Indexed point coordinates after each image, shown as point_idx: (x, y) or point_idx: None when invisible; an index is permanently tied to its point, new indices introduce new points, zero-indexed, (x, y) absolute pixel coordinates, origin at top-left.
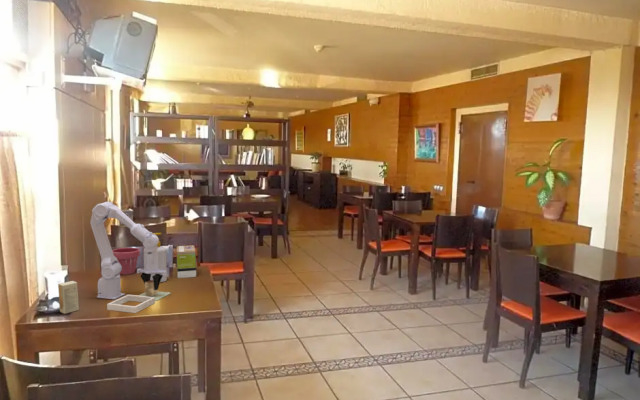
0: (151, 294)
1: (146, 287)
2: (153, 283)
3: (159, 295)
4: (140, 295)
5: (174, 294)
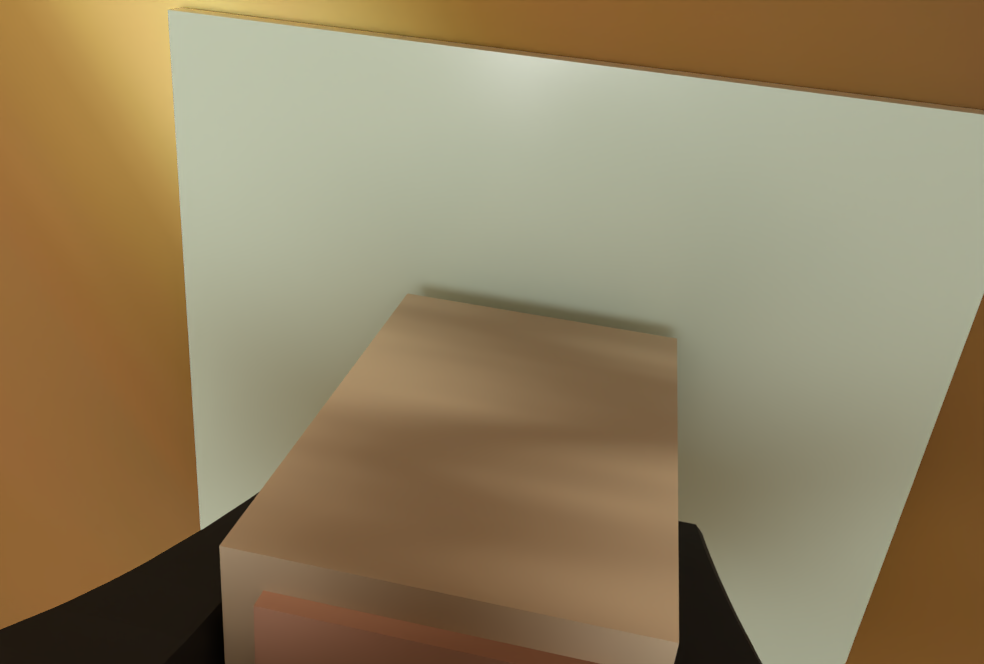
0: (442, 314)
1: (605, 467)
2: (240, 584)
3: None
4: (867, 383)
5: (108, 566)
